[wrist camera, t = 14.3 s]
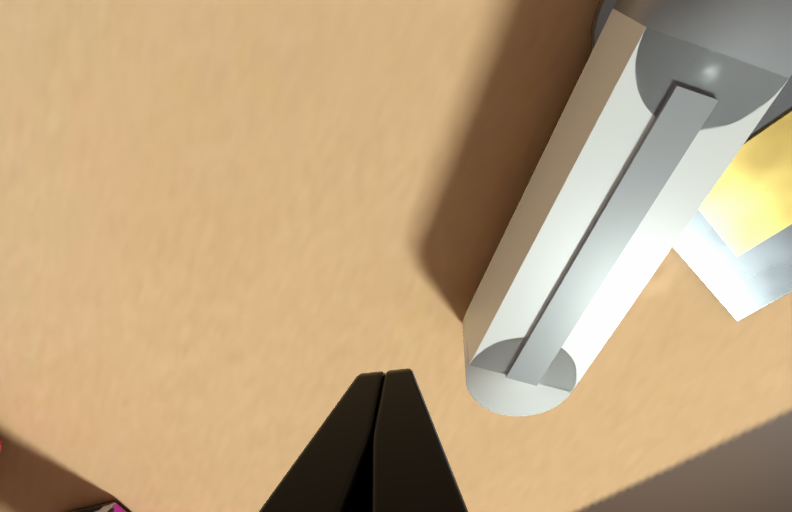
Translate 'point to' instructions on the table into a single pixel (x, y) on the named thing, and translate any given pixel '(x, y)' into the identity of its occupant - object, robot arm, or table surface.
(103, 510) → the candy bar box
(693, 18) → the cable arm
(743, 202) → the label plate
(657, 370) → the table surface
